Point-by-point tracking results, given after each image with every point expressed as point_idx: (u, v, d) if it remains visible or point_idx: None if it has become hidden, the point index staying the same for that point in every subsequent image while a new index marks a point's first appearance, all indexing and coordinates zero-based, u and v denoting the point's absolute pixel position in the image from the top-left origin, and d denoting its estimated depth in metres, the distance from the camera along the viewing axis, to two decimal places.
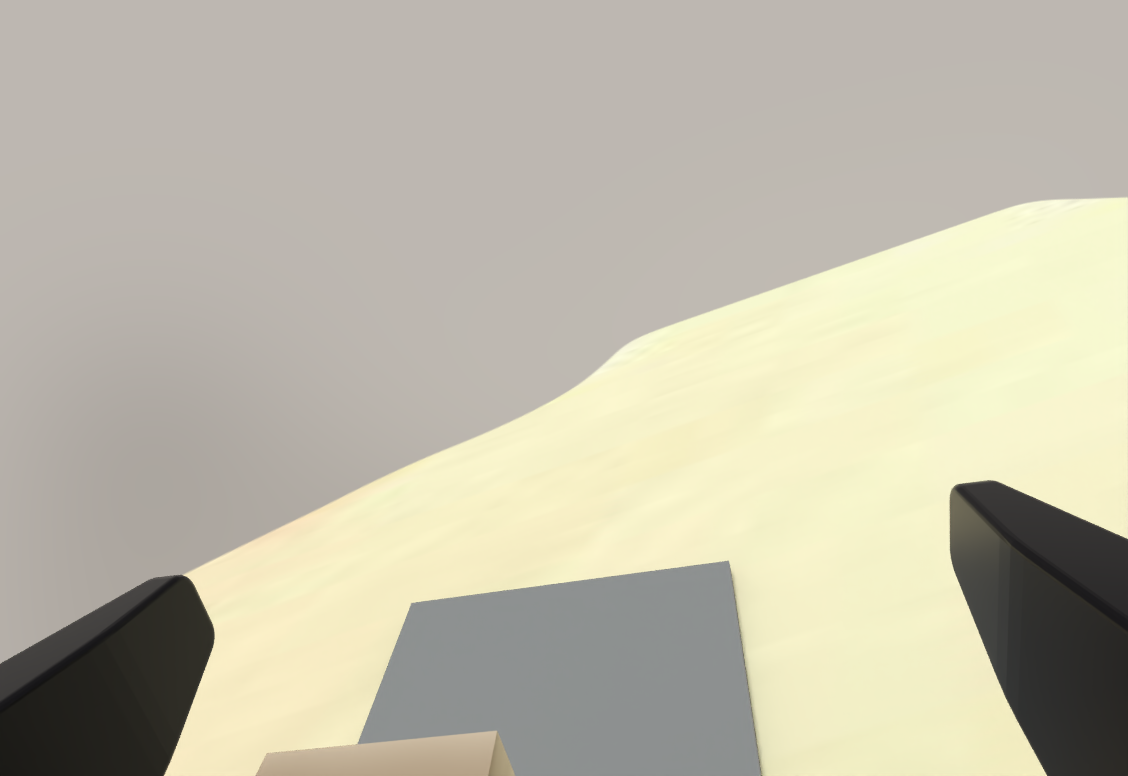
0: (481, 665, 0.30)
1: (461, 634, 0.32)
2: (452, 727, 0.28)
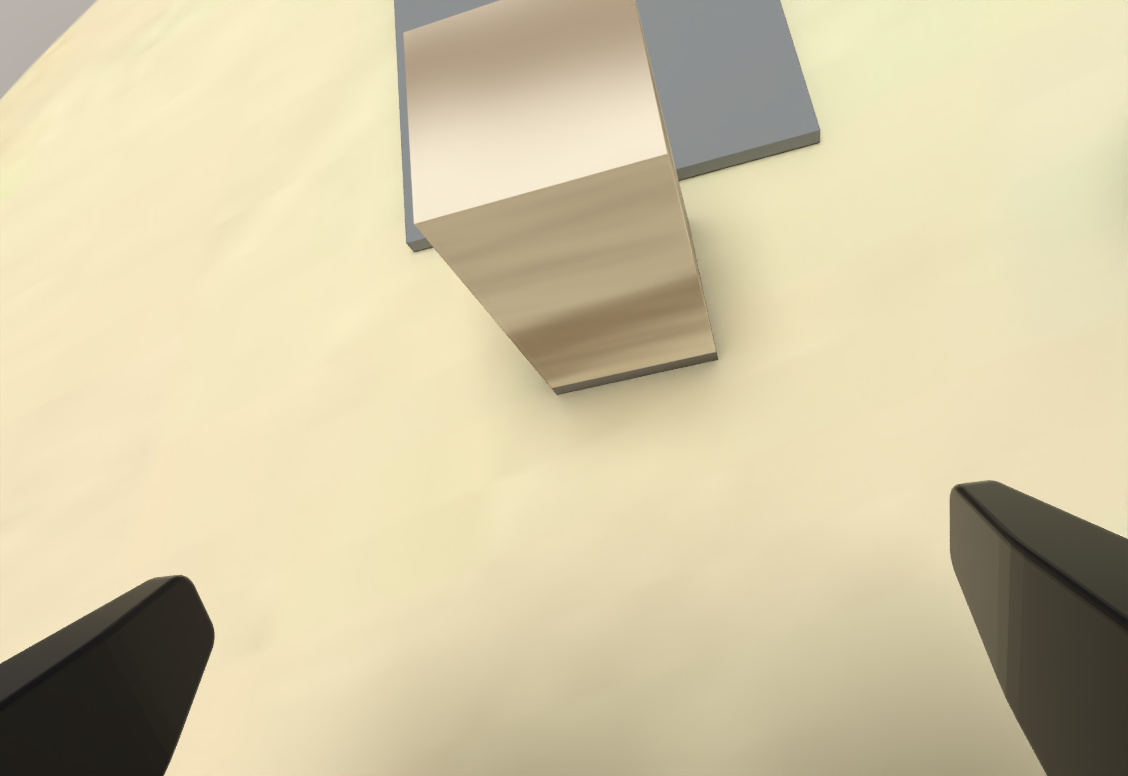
0: None
1: None
2: None
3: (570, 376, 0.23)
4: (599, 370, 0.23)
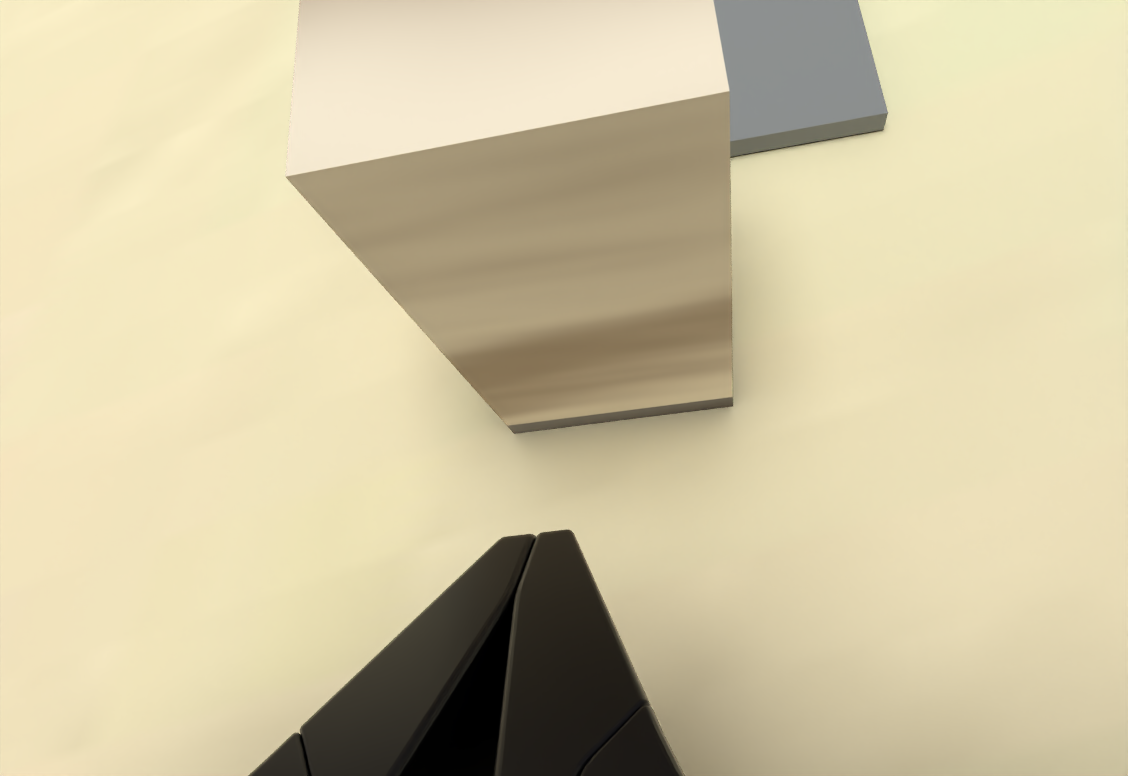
0: None
1: None
2: None
3: (533, 413, 0.17)
4: (573, 408, 0.17)
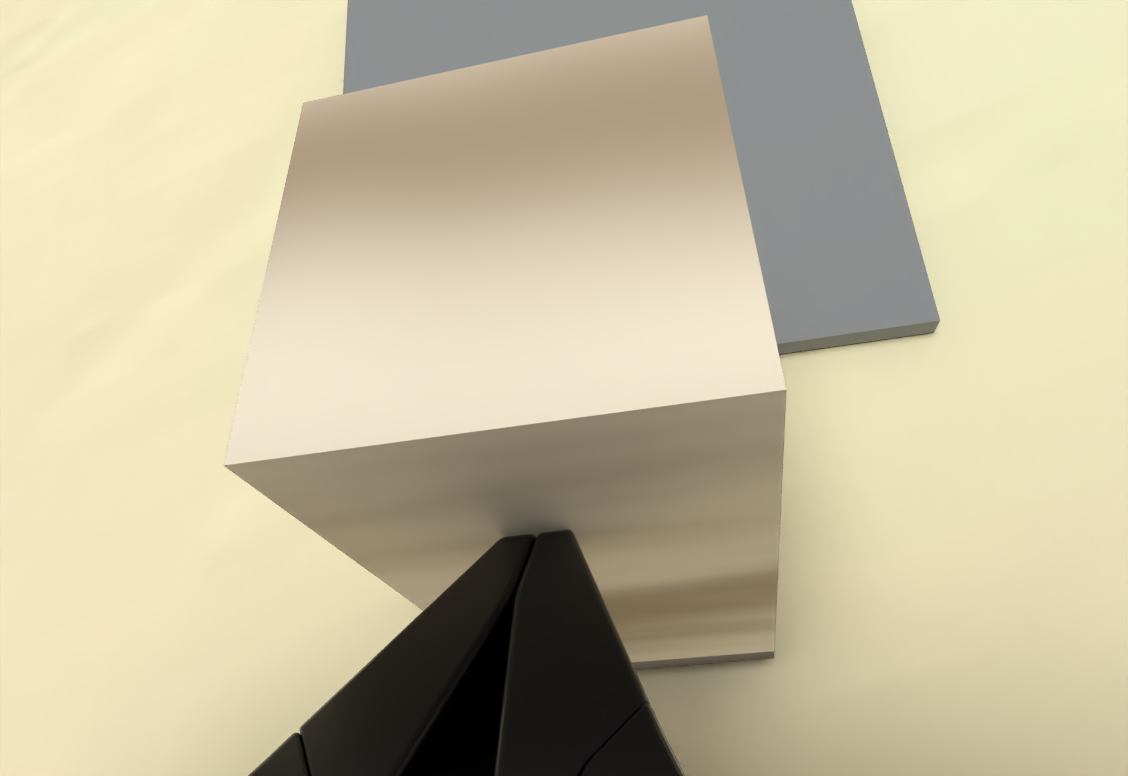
0: (478, 61, 0.22)
1: (437, 22, 0.23)
2: None
3: None
4: None
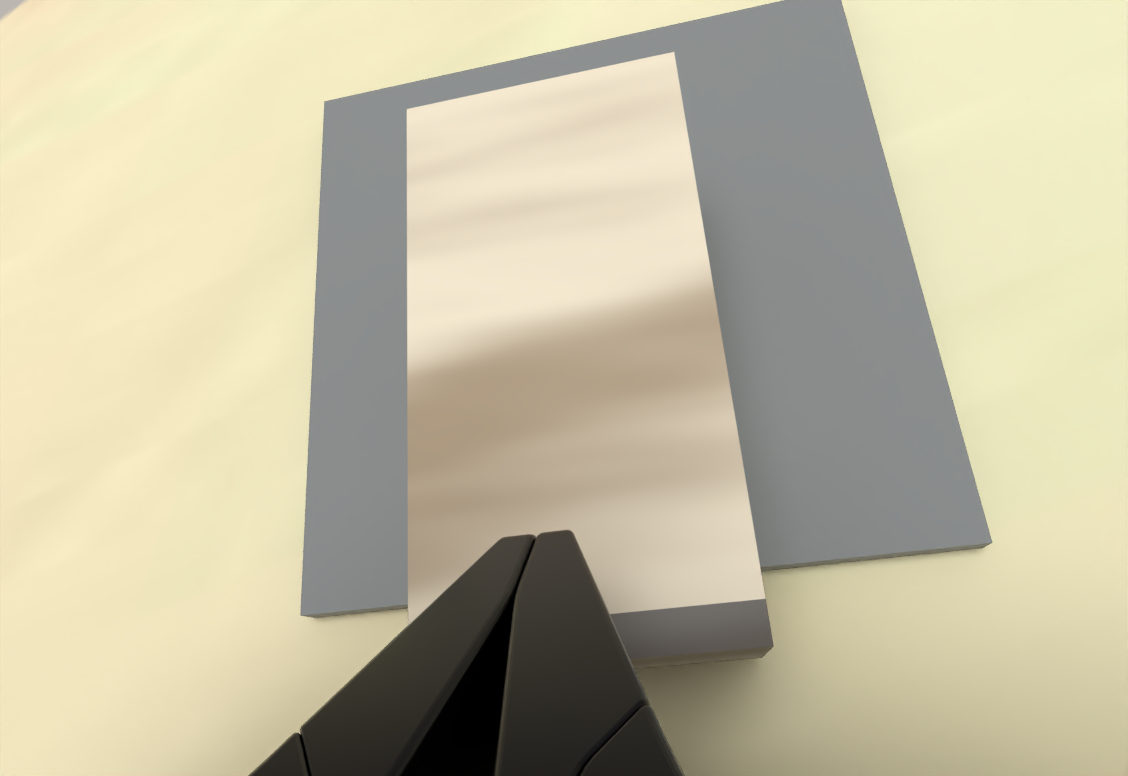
0: None
1: None
2: None
3: None
4: None
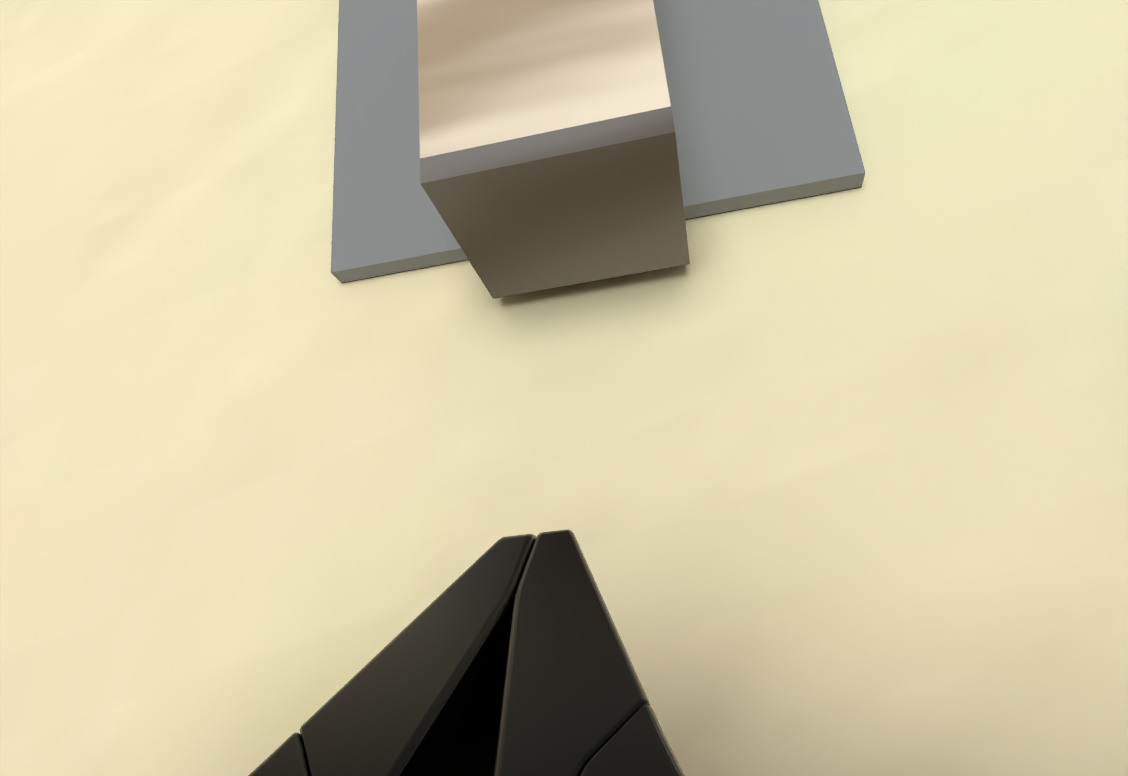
0: None
1: None
2: None
3: (454, 128, 0.16)
4: (497, 119, 0.15)
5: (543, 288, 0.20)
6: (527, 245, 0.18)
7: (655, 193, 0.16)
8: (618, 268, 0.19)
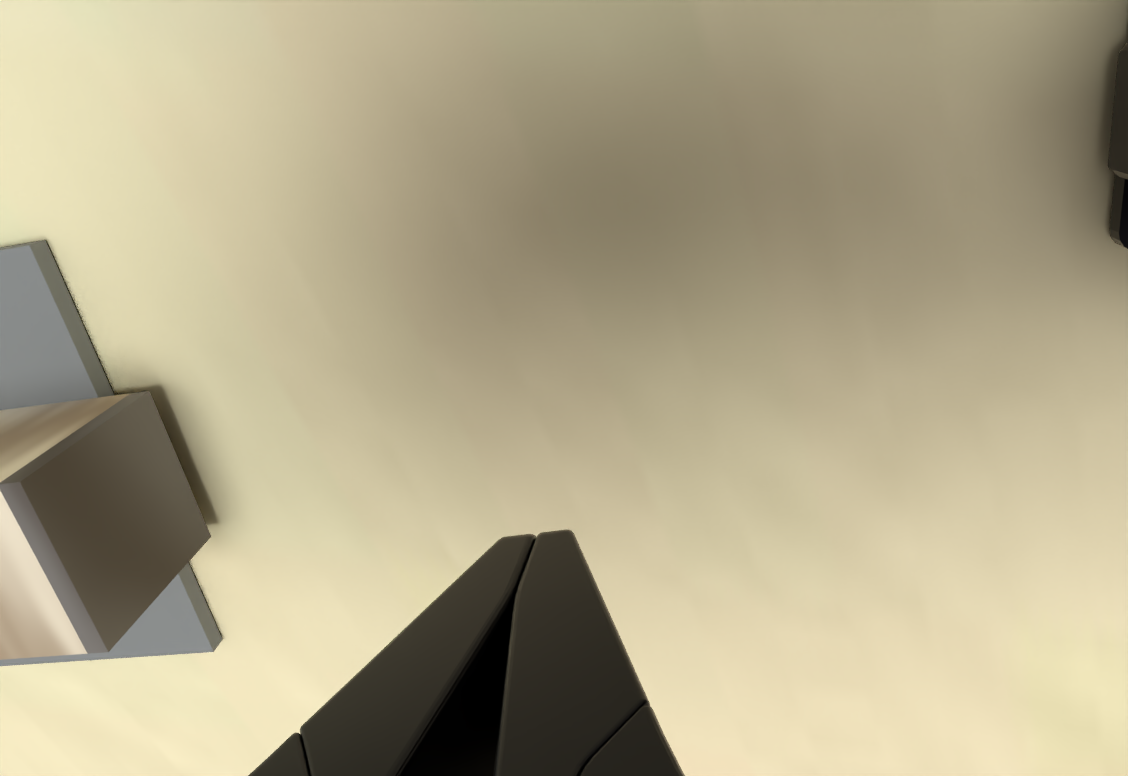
0: None
1: None
2: None
3: (55, 631, 0.19)
4: (40, 603, 0.19)
5: (194, 500, 0.24)
6: (153, 537, 0.22)
7: (82, 462, 0.19)
8: (164, 449, 0.22)
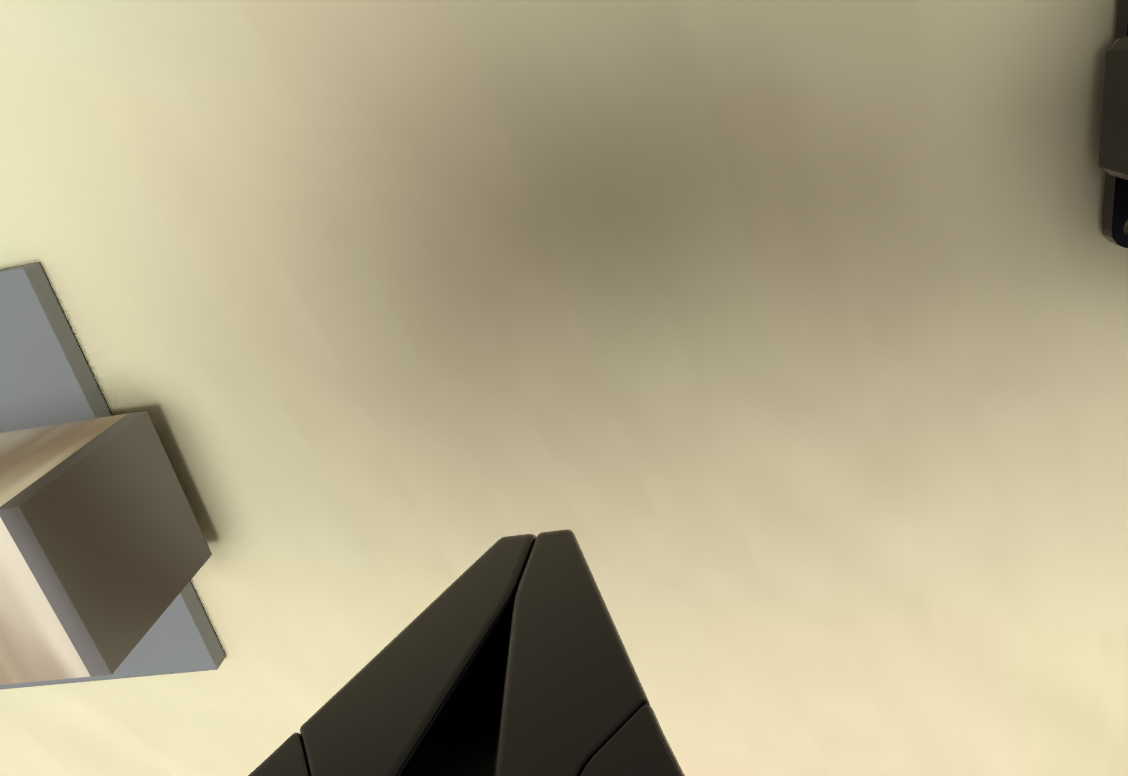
0: None
1: None
2: None
3: (58, 655, 0.19)
4: (41, 627, 0.19)
5: (194, 519, 0.23)
6: (154, 557, 0.22)
7: (81, 485, 0.19)
8: (162, 469, 0.22)
